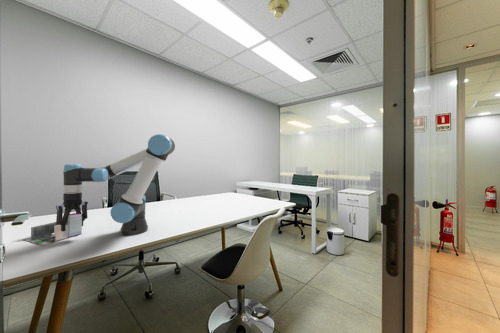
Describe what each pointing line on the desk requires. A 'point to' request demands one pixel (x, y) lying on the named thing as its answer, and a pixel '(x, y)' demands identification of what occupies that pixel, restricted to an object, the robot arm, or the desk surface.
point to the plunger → (56, 234)
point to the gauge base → (42, 234)
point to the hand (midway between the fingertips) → (72, 234)
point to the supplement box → (74, 225)
